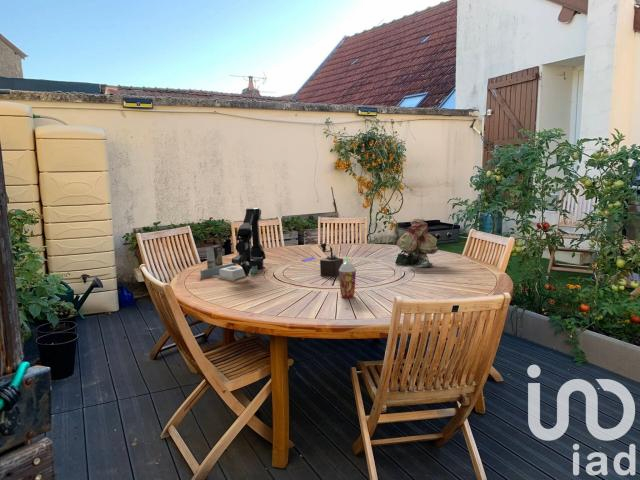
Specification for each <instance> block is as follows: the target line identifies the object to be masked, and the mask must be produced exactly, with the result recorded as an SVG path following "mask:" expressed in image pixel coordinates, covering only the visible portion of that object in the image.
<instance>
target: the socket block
mask: <svg viewBox="0 0 640 480" xmlns="http://www.w3.org/2000/svg"><path fill="white" fill-rule="evenodd" d="M219 273H220V275H219V276H221V277H226V278H231V279H234V280H236V279H240V278H244V277H247V276H246V275H245V273H244V270H243V268H242V267H241V266H239V265H238V266H237V265H236V266H230V267H226V268H222V269H219Z"/></svg>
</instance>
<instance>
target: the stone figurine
mask: <svg viewBox="0 0 640 480" xmlns="http://www.w3.org/2000/svg"><path fill="white" fill-rule="evenodd" d="M426 221H427V220H426V219H424V218H421V219H420V218H414V219H412V220H410V221H408V222H409V224H411V226H409V227H407V230H408V232H405V233H403V234H402V235H401V236H400V237H398V239H397V240H396V244H395V245H396V246H397V247H398V248H399V250H401V251H400V253H397V256H396V259H395V266H396V267H404V268H405V267H410V268H418V269H419V268H422V267H423V268H424V267H430V268H434V267H435V266H434V265H433V264H434V262H430V261H429V257H428V254H429V255H434V254H437V253H438V250H439V249H438V246H437V243H438V240H437V237H435V236H434V235H432V234H431V233H428V231H429V227H428V223H427V222H426Z"/></svg>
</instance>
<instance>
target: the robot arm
mask: <svg viewBox="0 0 640 480" xmlns="http://www.w3.org/2000/svg"><path fill="white" fill-rule="evenodd" d="M261 215H262V210H261V209H260V208H259V207H247V208H246V209H245V215H244V219H243V222H242V224H241V225H239V227H238V229H237V232H236V241H238V242H237V243H236V245H235V251H237V252H238V255H236V256H234V257H232V259H231V263H234V264H236V265H238V266H239V267H242V268H243V270H244V273H245V275H246V276H245V277H249V276H248V274H249V275H250V273H251V268H252V266H257V271H258V270H264V269H266V267H265V266H264V260H266V259H267V258H266V253H265V250H264V247H263V245H262V244H261V240H260V239H261V238H260V226H259V223H260V221H259V220H260V219H261V217H262V216H261ZM251 241H252V246H251Z"/></svg>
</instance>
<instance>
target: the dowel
mask: <svg viewBox="0 0 640 480" xmlns="http://www.w3.org/2000/svg"><path fill="white" fill-rule="evenodd" d="M251 275H253V276H254V275H258V270H257V266H252V268H251V269H250V276H251Z"/></svg>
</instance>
